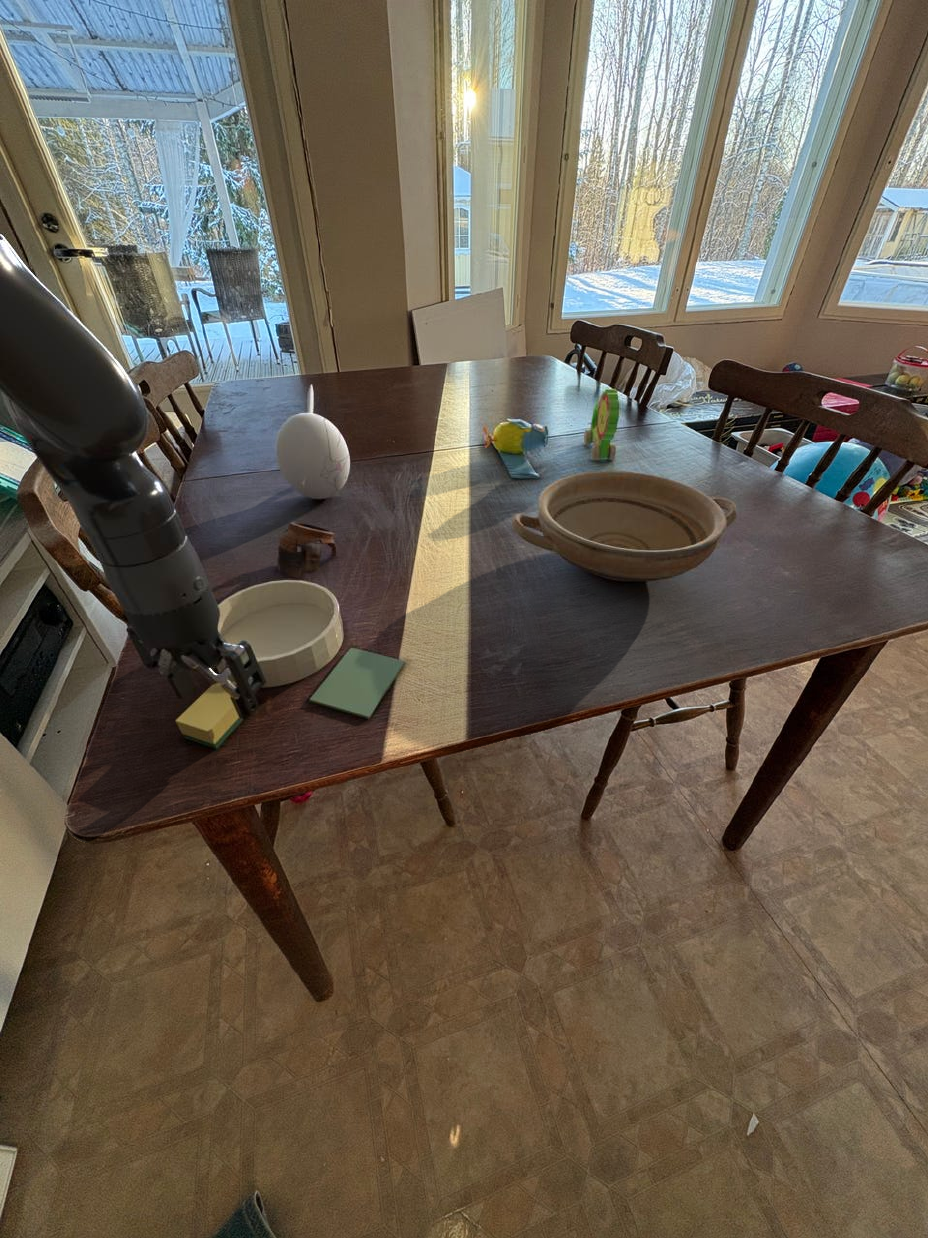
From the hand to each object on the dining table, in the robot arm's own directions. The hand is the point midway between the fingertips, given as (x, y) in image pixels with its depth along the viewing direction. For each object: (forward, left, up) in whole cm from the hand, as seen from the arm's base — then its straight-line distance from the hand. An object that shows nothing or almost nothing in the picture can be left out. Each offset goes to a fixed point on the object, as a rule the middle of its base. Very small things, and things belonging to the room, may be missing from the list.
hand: (218, 703), depth 58 cm
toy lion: (+99, -29, -3) cm, 103 cm away
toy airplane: (+91, -10, -3) cm, 91 cm away
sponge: (0, 0, -3) cm, 3 cm away
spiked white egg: (+59, +23, -3) cm, 63 cm away
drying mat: (+11, -12, -3) cm, 16 cm away
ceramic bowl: (+51, -39, -3) cm, 64 cm away
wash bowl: (+14, +2, -3) cm, 14 cm away
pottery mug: (+32, +9, -3) cm, 33 cm away
